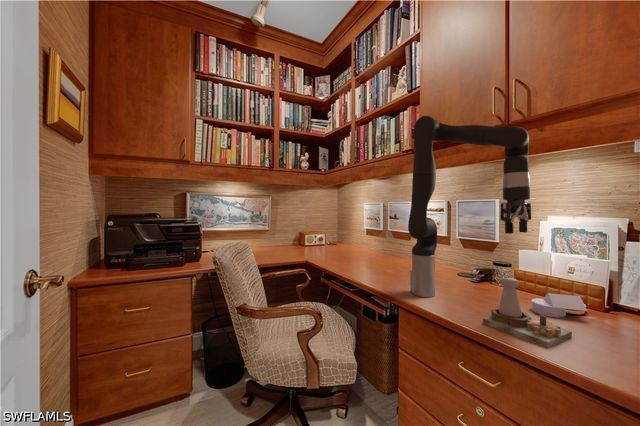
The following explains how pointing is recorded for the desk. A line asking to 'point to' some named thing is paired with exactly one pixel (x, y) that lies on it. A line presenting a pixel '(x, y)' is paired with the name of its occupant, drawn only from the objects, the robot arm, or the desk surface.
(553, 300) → the wedge on round base
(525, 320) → the peg board
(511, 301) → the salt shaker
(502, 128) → the robot arm
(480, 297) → the desk surface
